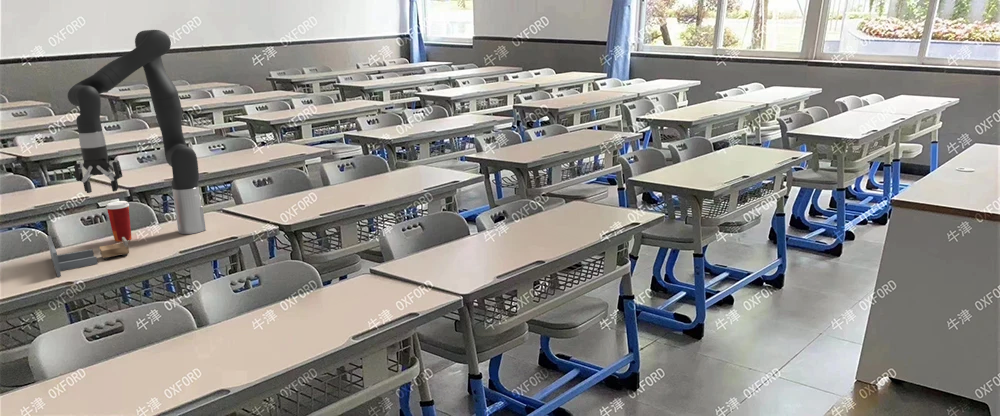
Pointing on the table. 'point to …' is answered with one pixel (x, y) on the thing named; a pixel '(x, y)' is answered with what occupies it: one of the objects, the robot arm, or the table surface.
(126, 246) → the walnut cart
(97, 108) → the robot arm
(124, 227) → the paper cup
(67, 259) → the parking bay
